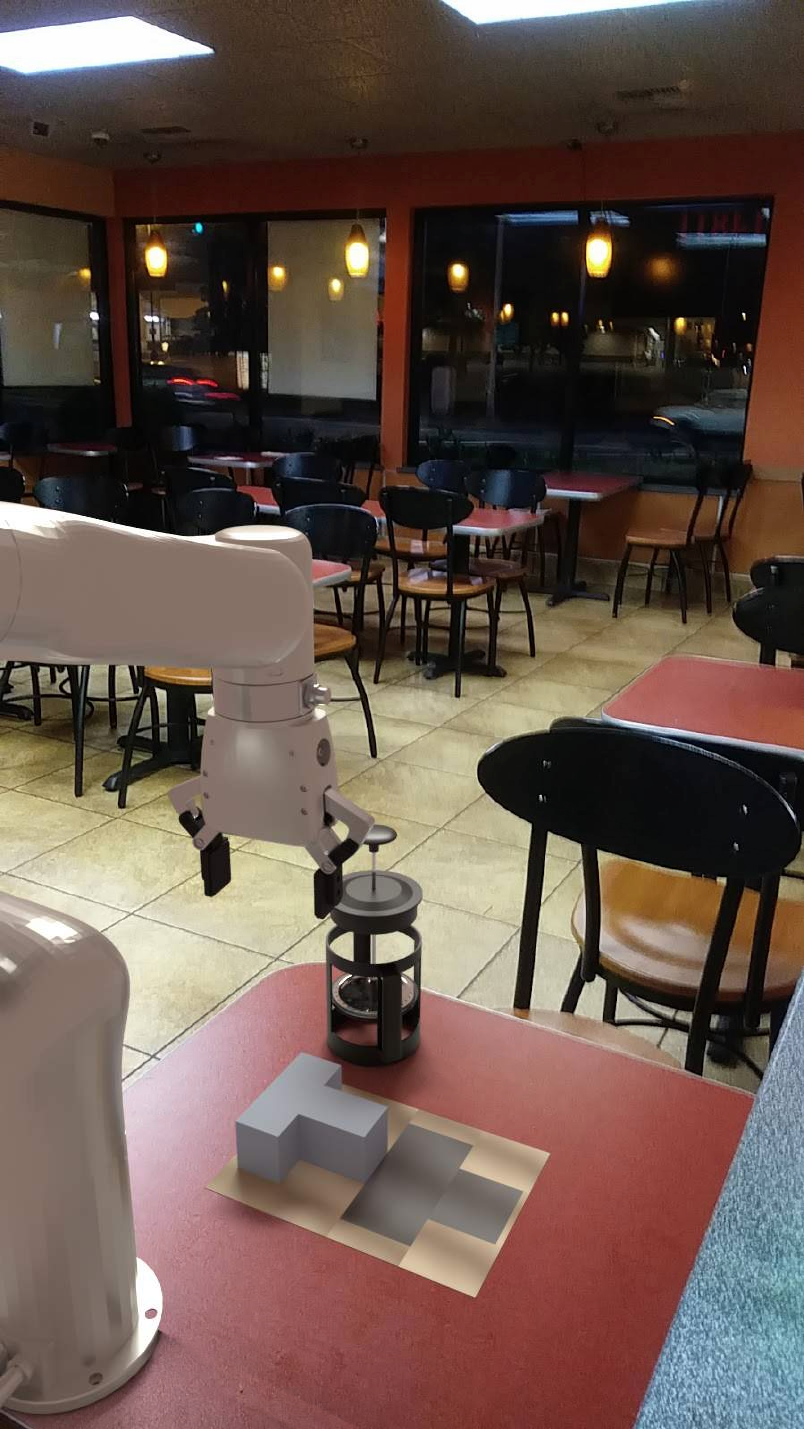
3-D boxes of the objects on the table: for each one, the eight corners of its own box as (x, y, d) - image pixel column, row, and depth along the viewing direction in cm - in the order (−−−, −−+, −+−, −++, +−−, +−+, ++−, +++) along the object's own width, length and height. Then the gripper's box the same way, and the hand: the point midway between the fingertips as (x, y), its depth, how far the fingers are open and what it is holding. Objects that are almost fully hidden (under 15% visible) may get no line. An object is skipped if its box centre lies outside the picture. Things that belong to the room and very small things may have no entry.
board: (474, 1310, 75) (475, 1297, 75) (205, 1199, 85) (205, 1187, 84) (549, 1165, 88) (550, 1153, 88) (310, 1083, 98) (310, 1072, 98)
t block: (345, 1209, 82) (345, 1161, 81) (237, 1167, 86) (235, 1120, 85) (403, 1130, 91) (404, 1085, 89) (302, 1095, 95) (301, 1052, 93)
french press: (314, 1024, 107) (310, 812, 100) (404, 1009, 109) (406, 802, 102) (341, 1098, 96) (339, 867, 89) (440, 1080, 99) (446, 854, 92)
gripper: (390, 694, 80) (389, 898, 86) (190, 669, 86) (201, 862, 91) (351, 724, 74) (352, 943, 79) (136, 695, 79) (151, 902, 85)
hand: (271, 899), depth 85 cm, fingers open, 9 cm apart
